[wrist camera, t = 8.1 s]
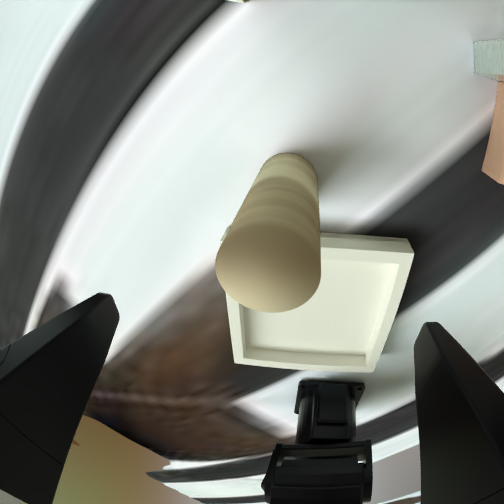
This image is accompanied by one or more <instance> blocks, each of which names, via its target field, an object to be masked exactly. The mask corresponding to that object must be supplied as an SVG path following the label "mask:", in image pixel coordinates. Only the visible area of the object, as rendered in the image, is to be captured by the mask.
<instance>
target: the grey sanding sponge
mask: <svg viewBox="0 0 504 504" xmlns="http://www.w3.org/2000/svg"><path fill="white" fill-rule="evenodd" d="M474 73H477V74H480V75H483V76H486V77H488V78H491V79H494V80H496V81H499V82H503V83H504V39H497V40H487V41H477V42H474Z"/></svg>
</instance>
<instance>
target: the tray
mask: <svg viewBox="0 0 504 504" xmlns="http://www.w3.org/2000/svg"><path fill="white" fill-rule="evenodd" d="M229 229H230V227H227V229H226V231H225V233H224V235H223V237H222V239H221V241H220V245H221V244H222V242H223V240H224V238H225V237H226V235H227V233H228V231H229ZM320 244H321V280H320V284H319V286H318V289H317V290H316V292H315V294H314V295H313V296H312V297H311V298H310V299H309V300H308V301H307V302H306V303H304V304H303V305H301V306H299V307H298V308H295V309H293V310H289V311H285V312H278V313H267V312H261V311H256V310H253V309H250V308H248V307H245V306H243V305H242V304H240V303H238V302H237V301H235V300H234V299H233V298H232V297H230V296H229V295H228V294H227V292H226V299H227V307H228V315H229V324H230V332H231V339H232V347H233V355H234V362H235V363H239V364H247V365H256V366H265V367H275V368H286V369H299V370H313V371H333V372H373V371H374V369H375V367H376V364H377V362H378V360H379V357H380V355H381V352H382V350H383V347H384V345H385V342H386V340H387V337H388V334H389V332H390V329H391V326H392V324H393V321H394V318H395V315H396V312H397V309H398V306H399V303H400V300H401V297H402V294H403V291H404V288H405V285H406V281H407V278H408V275H409V271H410V268H411V264H412V261H413V257H414V252H413V250H412V248H411V246H410V243H409V241H408V239H407V238H394V237H381V236H368V235H353V234H339V233H323V232H320Z"/></svg>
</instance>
